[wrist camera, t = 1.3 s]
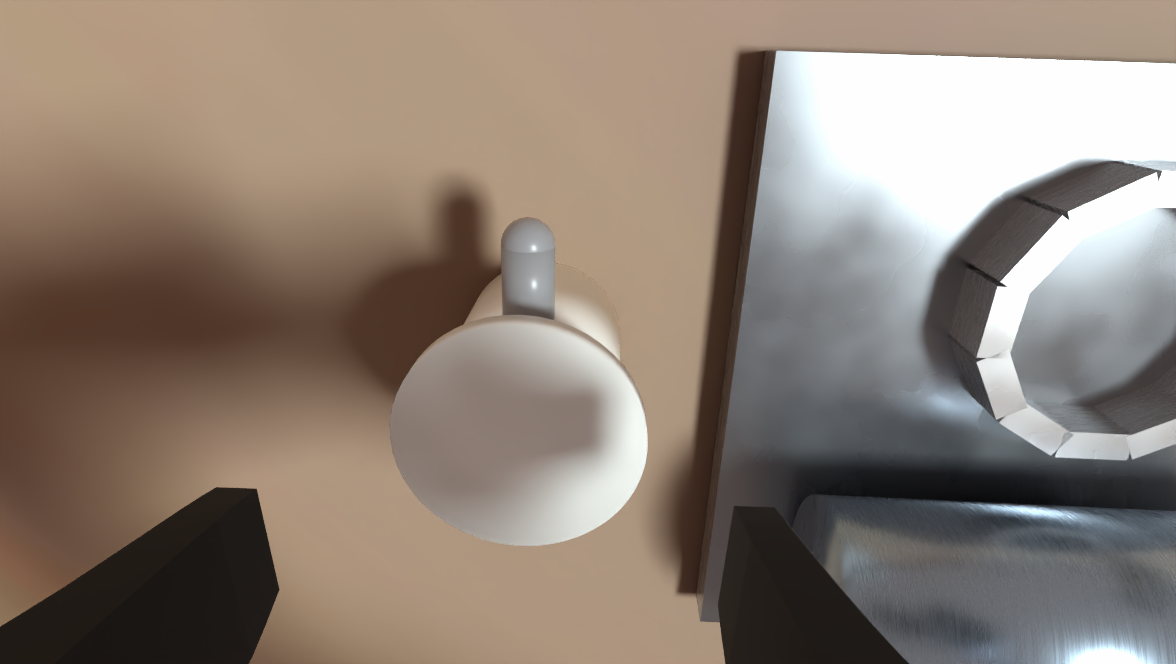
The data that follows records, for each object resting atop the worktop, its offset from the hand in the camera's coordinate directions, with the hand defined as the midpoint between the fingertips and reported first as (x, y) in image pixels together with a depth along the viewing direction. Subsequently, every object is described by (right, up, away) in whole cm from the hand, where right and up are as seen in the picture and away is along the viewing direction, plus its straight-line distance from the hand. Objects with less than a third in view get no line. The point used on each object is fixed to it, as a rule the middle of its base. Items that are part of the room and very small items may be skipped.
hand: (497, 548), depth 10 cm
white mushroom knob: (0, +3, +10) cm, 10 cm away
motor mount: (+14, +2, +10) cm, 17 cm away
